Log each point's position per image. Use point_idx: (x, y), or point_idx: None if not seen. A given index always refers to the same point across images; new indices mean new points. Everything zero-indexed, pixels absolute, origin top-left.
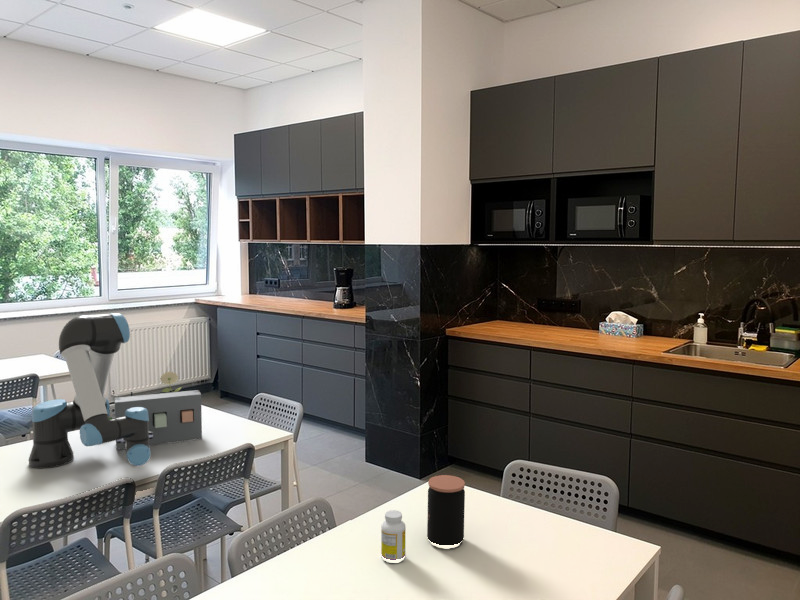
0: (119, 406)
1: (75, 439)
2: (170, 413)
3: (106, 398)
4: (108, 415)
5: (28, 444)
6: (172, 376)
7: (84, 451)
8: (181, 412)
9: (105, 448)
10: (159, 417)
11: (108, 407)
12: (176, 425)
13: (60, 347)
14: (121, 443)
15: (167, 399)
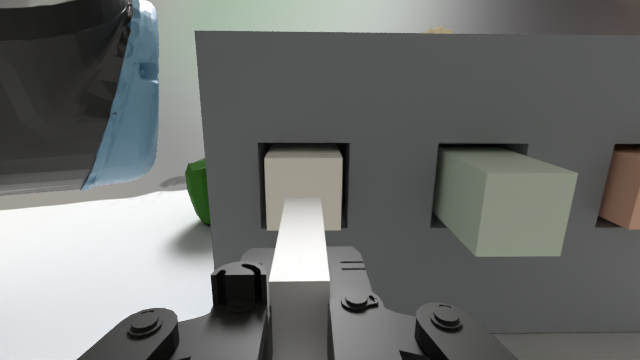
0: (226, 66)
1: (141, 220)
2: (549, 158)
3: (148, 4)
4: (146, 119)
5: (9, 218)
6: None
7: (80, 308)
8: (612, 160)
9: (181, 304)
10: (521, 175)
11: (142, 57)
12: (568, 240)
13: None
14: None
15: (552, 51)
